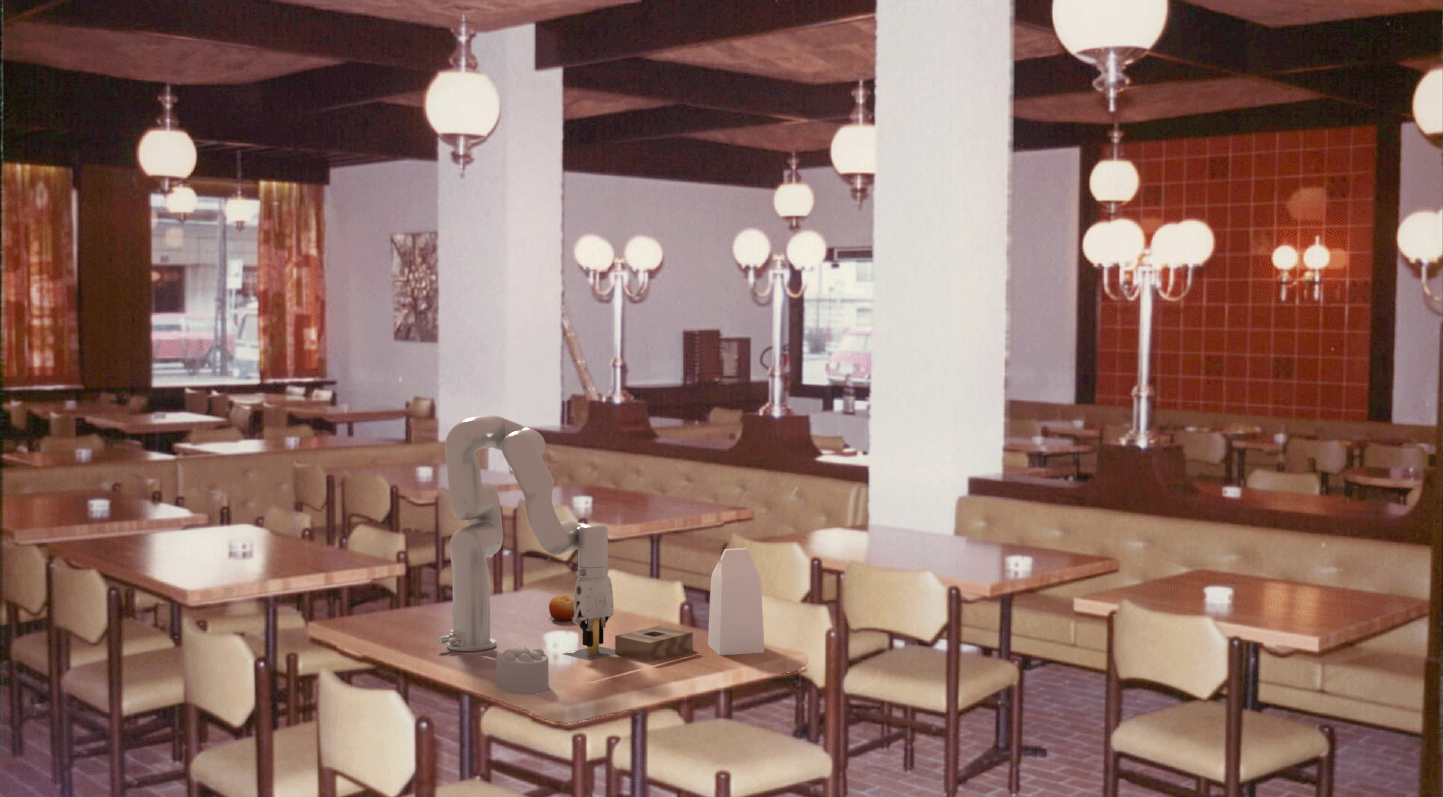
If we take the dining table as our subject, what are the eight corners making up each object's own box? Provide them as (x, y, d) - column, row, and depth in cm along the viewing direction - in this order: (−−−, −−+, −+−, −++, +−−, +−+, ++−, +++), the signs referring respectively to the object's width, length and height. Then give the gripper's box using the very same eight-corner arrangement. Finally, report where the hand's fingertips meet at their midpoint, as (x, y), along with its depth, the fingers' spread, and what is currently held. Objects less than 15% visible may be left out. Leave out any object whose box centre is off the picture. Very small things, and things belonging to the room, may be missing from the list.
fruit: (557, 610, 381) (567, 588, 378) (574, 627, 377) (585, 605, 374) (537, 614, 374) (548, 592, 372) (555, 631, 371) (566, 609, 368)
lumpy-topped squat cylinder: (530, 678, 309) (530, 642, 308) (559, 690, 299) (559, 652, 298) (491, 685, 302) (490, 648, 302) (519, 697, 292) (519, 659, 292)
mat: (589, 661, 325) (589, 660, 325) (562, 655, 331) (562, 653, 331) (623, 653, 334) (623, 651, 334) (596, 647, 340) (596, 645, 340)
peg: (592, 654, 330) (592, 617, 330) (584, 652, 332) (584, 615, 332) (601, 652, 333) (601, 615, 332) (593, 650, 335) (593, 614, 334)
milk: (719, 655, 332) (719, 553, 331) (707, 645, 343) (708, 546, 342) (764, 652, 335) (765, 551, 334) (751, 642, 346) (752, 544, 345)
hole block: (649, 663, 324) (649, 643, 323) (615, 655, 332) (615, 635, 331) (692, 651, 336) (692, 632, 336) (659, 644, 344) (659, 625, 343)
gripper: (579, 578, 323) (579, 652, 324) (626, 570, 335) (626, 641, 336) (558, 575, 328) (559, 647, 329) (605, 566, 340) (606, 637, 341)
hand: (593, 643), depth 332 cm, fingers closed on peg, 3 cm apart
